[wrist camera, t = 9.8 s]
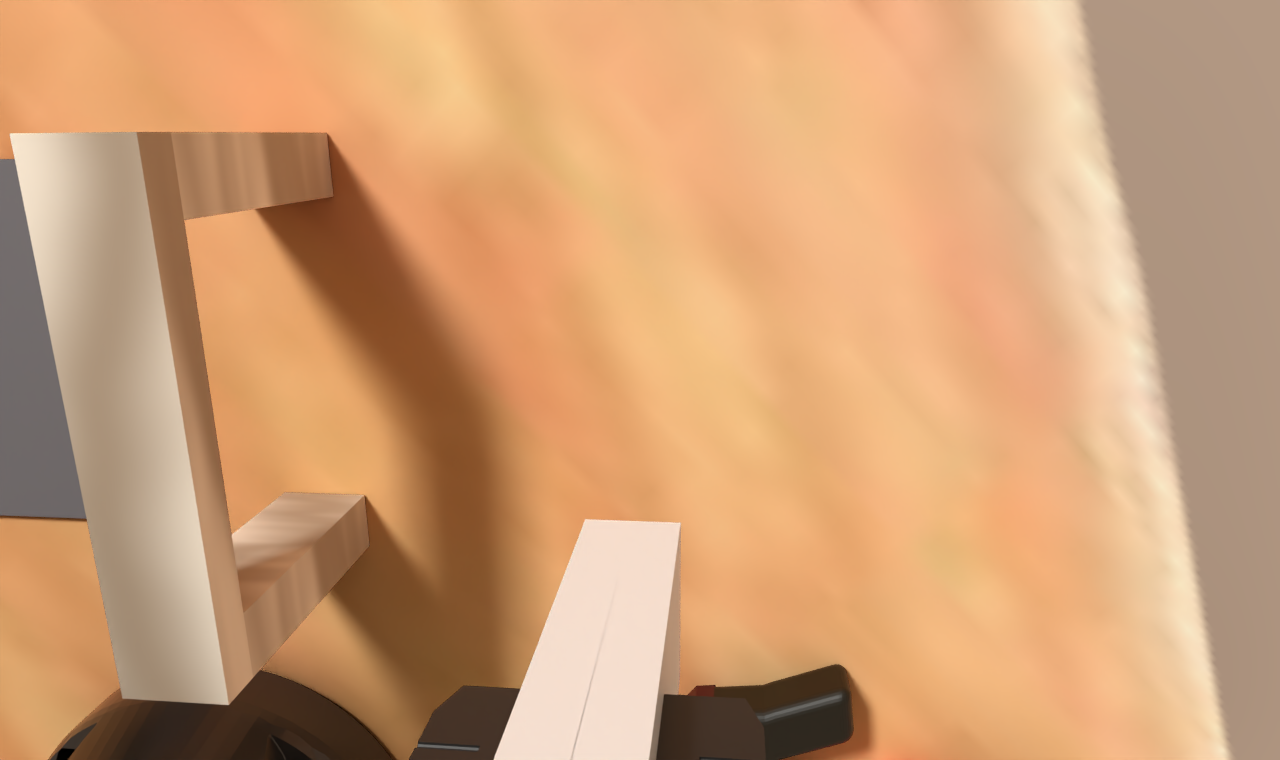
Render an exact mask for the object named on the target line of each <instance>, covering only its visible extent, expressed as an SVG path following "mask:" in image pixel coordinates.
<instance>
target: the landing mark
mask: <svg viewBox="0 0 1280 760" xmlns="http://www.w3.org/2000/svg"><path fill="white" fill-rule="evenodd" d="M0 515H6V516H32V517H58V518H84V519H87V518H86V513H85V508H84V503H83V498H82V493H81V488H80V483H79V478H78V473H77V468H76V463H75V458H74V453H73V448H72V443H71V438H70V433H69V428H68V423H67V418H66V413H65V408H64V403H63V398H62V393H61V388H60V383H59V378H58V373H57V368H56V363H55V358H54V353H53V348H52V343H51V338H50V333H49V328H48V323H47V318H46V313H45V308H44V303H43V298H42V293H41V288H40V283H39V278H38V273H37V268H36V263H35V258H34V253H33V248H32V243H31V238H30V233H29V228H28V223H27V218H26V213H25V208H24V203H23V198H22V193H21V188H20V183H19V178H18V173H17V168H16V163H15V159H0Z"/></svg>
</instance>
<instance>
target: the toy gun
mask: <svg viewBox="0 0 1280 760" xmlns="http://www.w3.org/2000/svg"><path fill="white" fill-rule="evenodd" d="M688 695H690V696H708V697H725V698H743V699H746V700H747V702H748V703H749V705H750V707H751V708H752V710H753V711H754V713H755V714H756V716H757V717H758V719H759V721H760V722H761V724H762V725H763V727H764V736H765V755H766V760H780V759H784V758H788V757H792V756H795V755H799V754H803V753H807V752H811V751H814V750H818V749H822V748H826V747H830V746H833V745H837V744H841V743H844V742H846V741H847V740H849V739H850V737H851V736H852V734H853V729H854V728H853V713H852V698H851V691H850V686H849V682H848V677H847V672H846V670H845V668H844V667H843V666H841V665H831V666H828V667H824V668H820V669H817V670H813V671H810V672H806V673H803V674H799V675H796V676H792V677H789V678H785V679H781V680H778V681H774V682H771V683H768V684H765V685H755V686H732V687H715V685H706V686H696V687H695V688H694V689H693V690H692V691H691V692H690V693H689V694H688Z"/></svg>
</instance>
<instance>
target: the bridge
mask: <svg viewBox="0 0 1280 760" xmlns="http://www.w3.org/2000/svg"><path fill="white" fill-rule="evenodd" d="M10 138H11V143H12V148H13V153H14V158H15V163H16V168H17V173H18V178H19V183H20V188H21V193H22V198H23V203H24V208H25V213H26V218H27V223H28V228H29V233H30V238H31V243H32V248H33V253H34V258H35V263H36V268H37V273H38V278H39V283H40V288H41V293H42V298H43V303H44V308H45V313H46V318H47V323H48V328H49V333H50V338H51V343H52V348H53V353H54V358H55V363H56V368H57V373H58V378H59V383H60V388H61V393H62V398H63V403H64V408H65V413H66V418H67V423H68V428H69V433H70V438H71V443H72V448H73V453H74V458H75V463H76V468H77V473H78V478H79V483H80V488H81V493H82V498H83V503H84V508H85V513H86V518H87V523H88V528H89V533H90V538H91V543H92V548H93V553H94V558H95V563H96V568H97V573H98V578H99V583H100V588H101V593H102V598H103V603H104V608H105V613H106V618H107V623H108V628H109V633H110V638H111V643H112V648H113V653H114V658H115V663H116V668H117V673H118V678H119V683H120V688H121V693H122V698H123V699H139V700H155V701H172V702H188V703H204V704H221V705H229V704H230V703H231V702H232V701H233V700H234V699H235V698H236V696H237V695H238V694H239V693H240V692H241V691H242V690H243V688H244V687H245V686H246V685H247V684H248V683H249V682H250V681H251V679H252V678H253V677H254V676H255V675H256V674H257V673H258V672H259V670H260V669H261V668H262V667H263V666H264V665H265V664H266V662H267V661H268V660H269V659H270V658H271V657H272V656H273V655H274V653H275V652H276V651H277V650H278V649H279V648H280V647H281V646H282V644H283V643H284V642H285V641H286V640H287V639H288V638H289V636H290V635H291V634H292V633H293V632H294V631H295V630H296V629H297V627H298V626H299V625H300V624H301V623H302V622H303V621H304V619H305V618H306V617H307V616H308V615H309V614H310V613H311V612H312V610H313V609H314V608H315V607H316V606H317V605H318V604H319V603H320V601H321V600H322V599H323V598H324V597H325V596H326V595H327V593H328V592H329V591H330V590H331V589H332V588H333V587H334V586H335V584H336V583H337V582H338V581H339V580H340V579H341V578H342V576H343V575H344V574H345V573H346V572H347V571H348V570H349V569H350V567H351V566H352V565H353V564H354V563H355V562H356V561H357V560H358V558H359V557H360V556H361V555H362V554H363V553H364V552H365V550H366V549H367V548H368V547H369V546H370V545H369V535H368V525H367V516H366V506H365V496H364V495H347V494H318V493H289V492H285V493H283V494H282V495H281V496H280V497H278V498H277V499H276V500H275V501H273V502H272V503H271V504H270V505H268V506H267V507H266V508H264V509H263V510H262V511H261V512H259V513H258V514H257V515H256V516H254V517H253V518H252V519H251V520H249V521H248V522H247V523H246V524H244V525H243V526H242V527H241V528H239V529H238V530H237V531H236V532H234V533H233V534H231V528H230V521H229V514H228V508H227V501H226V494H225V488H224V481H223V475H222V468H221V461H220V455H219V448H218V441H217V435H216V428H215V422H214V415H213V408H212V402H211V395H210V388H209V382H208V375H207V368H206V362H205V355H204V349H203V342H202V335H201V329H200V322H199V315H198V309H197V302H196V296H195V289H194V282H193V276H192V269H191V262H190V256H189V249H188V243H187V236H186V229H185V223H184V220H187V219H194V218H200V217H207V216H213V215H219V214H226V213H232V212H239V211H245V210H251V209H258V208H264V207H271V206H277V205H283V204H290V203H296V202H303V201H309V200H316V199H322V198H328V197H333V187H332V178H331V168H330V158H329V149H328V139H327V133H232V132H103V133H10Z"/></svg>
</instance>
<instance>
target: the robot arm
mask: <svg viewBox="0 0 1280 760" xmlns="http://www.w3.org/2000/svg"><path fill="white" fill-rule="evenodd" d="M680 550H681V523H672V522H644V521H616V520H589V519H585V522H584V524H583V527H582V530H581V532H580V535H579V537H578V540H577V543H576V545H575V548H574V550H573V553H572V556H571V558H570V561H569V564H568V566H567V569H566V571H565V574H564V577H563V579H562V582H561V584H560V587H559V590H558V592H557V595H556V598H555V600H554V603H553V605H552V608H551V611H550V613H549V616H548V618H547V621H546V624H545V626H544V629H543V632H542V634H541V637H540V639H539V642H538V645H537V647H536V650H535V652H534V655H533V658H532V660H531V663H530V666H529V668H528V671H527V673H526V676H525V679H524V681H523V684H522V686H521V689H514V688H497V687H479V686H463V687H461V688H460V689H459V690H458V691H457V692H456V693H454V694H453V695H452V696H451V697H450V698H449V699H447V700H446V701H445V702H444V703H443V704H442V705H440V706H439V707H438V708H437V709H436V710H435V711H434V712H433V714H432V716H431V718H430V720H429V722H428V724H427V726H426V728H425V729H424V731H423V733H422V735H421V737H420V739H419V741H418V747H417V748H415V749H414V751H413V753H412V755H411V756H410V758H409V760H766V755H765V736H764V727H763V725H762V724H761V722H760V721H759V719H758V717H757V716H756V714H755V713H754V711H753V710H752V708H751V707H750V705H749V703H748V702H747V700H746V699H743V698H725V697H708V696H690V695H678V690H679V680H680ZM48 760H392V759H391V757H390V756H389V755H388V754H387V752H386V751H385V750H384V748H383V747H382V746H381V745H380V744H379V743H378V741H377V740H376V739H375V738H374V737H373V736H372V735H371V734H370V733H369V732H368V731H367V730H366V729H365V728H364V727H363V726H362V725H361V724H360V723H358V722H357V721H356V720H355V719H354V718H353V717H351V716H350V715H349V714H348V713H346V712H345V711H344V710H342V709H341V708H340V707H338V706H337V705H335V704H334V703H332V702H331V701H329V700H328V699H326V698H324V697H323V696H321V695H319V694H317V693H316V692H314V691H312V690H310V689H308V688H306V687H304V686H302V685H300V684H298V683H295V682H293V681H291V680H288V679H286V678H283V677H280V676H277V675H274V674H271V673H268V672H264V671H261V670H259V672H258V673H257V674H256V675H255V676H254V677H253V678H252V679H251V681H250V682H249V683H248V684H247V685H246V686H245V687H244V688H243V690H242V691H241V692H240V693H239V694H238V695H237V696H236V698H235V699H234V700H233V701H232V702H231V703H230V704H229V705H221V704H204V703H188V702H172V701H155V700H139V699H123V698H122V693H121V688H120V689H118V690H117V691H116V692H114V693H113V694H112V695H110V696H109V697H108V698H107V699H106V700H105V701H104V702H103V703H101V704H100V705H99V706H98V707H97V708H96V709H95V710H94V711H93V712H92V713H90V714H89V715H88V716H87V717H86V718H85V719H84V720H83V721H82V722H80V723H79V724H78V725H77V726H76V727H75V728H74V729H73V730H72V731H71V732H70V733H69V734H68V735H67V736H66V737H65V738H64V739H63V740H62V742H61V743H60V744H59V745H58V747H57V748H56V749H55V751H54V752H53V753H52V755H51V756H50V757H49V759H48Z"/></svg>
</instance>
